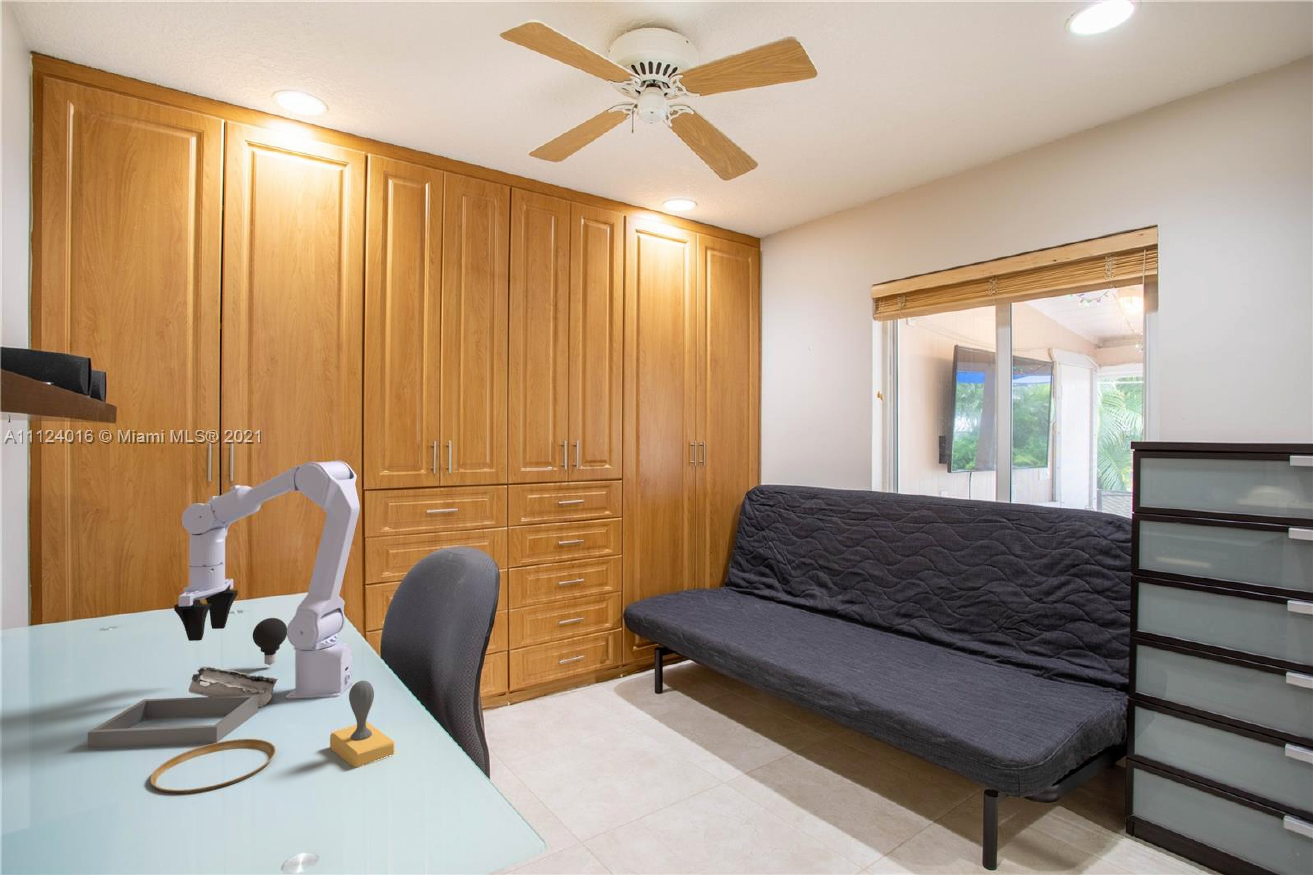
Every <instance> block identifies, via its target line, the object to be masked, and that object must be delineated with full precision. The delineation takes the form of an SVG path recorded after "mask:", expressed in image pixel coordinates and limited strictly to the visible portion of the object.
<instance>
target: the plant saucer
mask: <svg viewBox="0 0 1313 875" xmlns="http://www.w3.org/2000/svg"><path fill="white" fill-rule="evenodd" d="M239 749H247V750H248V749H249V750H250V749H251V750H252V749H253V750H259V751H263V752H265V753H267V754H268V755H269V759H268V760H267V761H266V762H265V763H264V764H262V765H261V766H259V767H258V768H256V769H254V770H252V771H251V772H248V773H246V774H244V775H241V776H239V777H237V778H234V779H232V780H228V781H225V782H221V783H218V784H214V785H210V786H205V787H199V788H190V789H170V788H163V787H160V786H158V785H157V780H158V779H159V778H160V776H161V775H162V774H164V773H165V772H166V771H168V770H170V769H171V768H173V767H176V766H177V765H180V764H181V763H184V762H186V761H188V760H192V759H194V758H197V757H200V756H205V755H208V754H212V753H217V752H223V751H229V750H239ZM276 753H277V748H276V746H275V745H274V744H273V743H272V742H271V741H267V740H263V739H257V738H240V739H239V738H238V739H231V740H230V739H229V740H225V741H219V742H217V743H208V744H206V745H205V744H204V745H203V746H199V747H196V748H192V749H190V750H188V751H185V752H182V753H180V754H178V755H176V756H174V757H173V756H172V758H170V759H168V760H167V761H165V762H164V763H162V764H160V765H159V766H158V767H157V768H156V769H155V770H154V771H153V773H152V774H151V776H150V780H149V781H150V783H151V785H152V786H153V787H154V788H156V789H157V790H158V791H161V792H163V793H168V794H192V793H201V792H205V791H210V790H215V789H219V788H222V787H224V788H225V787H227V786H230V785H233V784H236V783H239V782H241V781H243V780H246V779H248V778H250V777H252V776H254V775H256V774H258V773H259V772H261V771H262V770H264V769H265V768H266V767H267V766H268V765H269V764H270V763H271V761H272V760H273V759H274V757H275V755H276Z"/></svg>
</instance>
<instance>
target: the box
mask: <svg viewBox="0 0 1313 875" xmlns="http://www.w3.org/2000/svg"><path fill="white" fill-rule="evenodd" d="M258 713H259V707H258V695H249V696H221V697H208V696H200V697H198V696H197V697H176V698H175V697H173V698H171V697H169V698H146V699H142V700H140V701H139V702H137V703H135V704H134V705H132V706H131V707H129V708H126V709H125V710H123V711H122V712H120V713H118V714H117V715H115V716H113V717H112V718H110V719H108V720H106V721H105V722H103V723H101V724H100V725H98V726H96V727H94V728H92V729H91V730H89V731H88V732H87V749H89V750H92V749H93V750H94V749H95V750H96V749H111V748H113V749H114V748H116V749H117V748H134V747H152V746H154V747H155V746H157V747H159V746H177V745H197V744H198V745H200V744H201V745H202V744H213V743H218V742H221V741H222V740H223V739H224V738H225V737H227V736H228V735H229V734H231V733H232V732H234V731H235V730H236V729H238V728H239V727H241V725H243V724H244V723H246V722H247V721H249V720H250V719H251V718H252V717H254V716H255V715H256V714H258ZM218 716H223V718H221V719H220V720H219V721H218V722H216V723H215V724H207V725H206V724H205V725H183V726H182V725H181V726H180V725H179V726H177V725H176V726H160V727H159V726H158V727H156V726H155V727H152V726H151V727H137V728H136V727H134V726H136V725H137V724H139V723H140V722H142V721H145V720H148V719H168V718H171V719H173V718H191V717H193V718H194V717H195V718H196V717H218Z"/></svg>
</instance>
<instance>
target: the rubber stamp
mask: <svg viewBox="0 0 1313 875" xmlns="http://www.w3.org/2000/svg"><path fill="white" fill-rule="evenodd" d="M348 693H349V694H348V701H349V704H350V707H351V710H352V713H353V715H354V717H355V720H356V724H354V725H352V726H347V727H345V728H341V729H337V730H334V731H332V732H331V733H330V735H329V749H330V748H331V749H330V750H332V751H333V752H334V753H335V752H336V753H335V754H336V755H338V756H339V755H340V757H341V758H342V759H343V760H345V762H346V763H348V764H349V765H350V766H352V767H353V766H354V767H355V768H356V767H358V768H361V767H363V766H362V765H364V766H367V765H369V764H368V763H370V762H373V761H375V760H378V759H381V758H384V757H386V756H389V755H393V754H394V755H395V741H394V740H393V739H391V738H390V737H388V736H387V735H386V734H385V733H383V732H382V731H380V730H379V729H378V728H376V727H375V726H373V725H372V724H371V723H369V722H368V721H367V719H368V717H369V716H368V715H369V713H370V710H371V708H372V705H373V702H374V697H375V691H374V687H373V685H372V684H371V682H369V681H366V680H359V681H357V682H355V684H353V685H352V686H351V688H350V690H349V692H348ZM394 755H393V756H394ZM373 763H374V762H373ZM366 764H367V765H366ZM370 764H371V763H370ZM360 766H361V767H360ZM354 767H353V768H354ZM355 768H354V769H355Z"/></svg>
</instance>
